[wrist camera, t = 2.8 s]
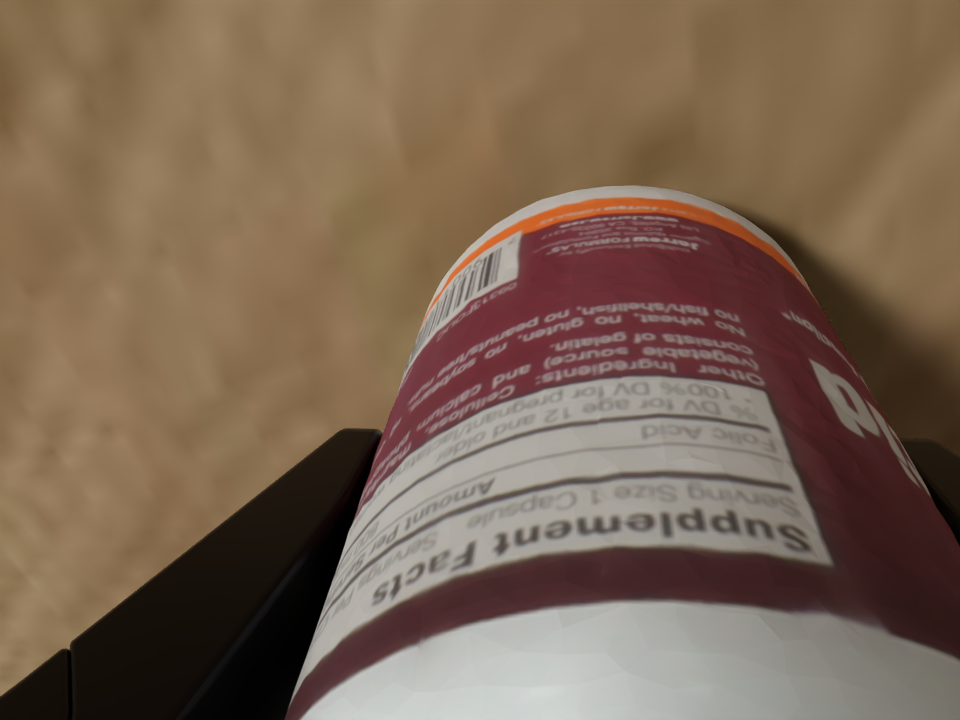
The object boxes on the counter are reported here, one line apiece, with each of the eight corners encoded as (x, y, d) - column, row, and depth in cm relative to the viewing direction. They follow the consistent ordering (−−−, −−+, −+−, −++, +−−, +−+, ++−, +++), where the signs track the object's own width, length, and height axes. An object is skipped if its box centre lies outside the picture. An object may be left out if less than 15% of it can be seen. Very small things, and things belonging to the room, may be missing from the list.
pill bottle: (835, 474, 10) (1429, 1834, 3) (484, 531, 11) (340, 1628, 4) (797, 116, 8) (2602, 2090, 1) (364, 230, 9) (-370, 1505, 2)
